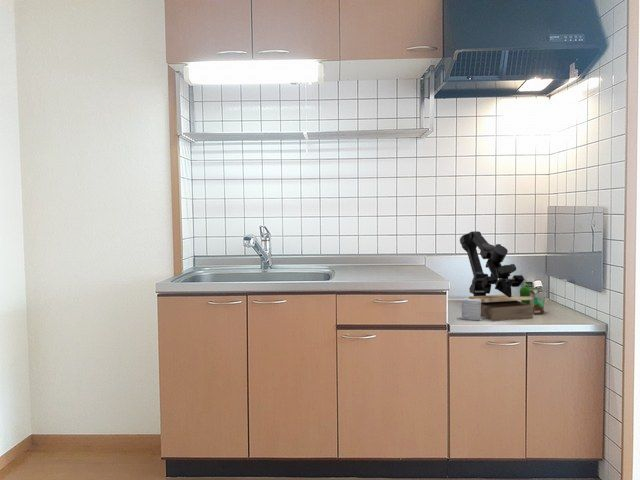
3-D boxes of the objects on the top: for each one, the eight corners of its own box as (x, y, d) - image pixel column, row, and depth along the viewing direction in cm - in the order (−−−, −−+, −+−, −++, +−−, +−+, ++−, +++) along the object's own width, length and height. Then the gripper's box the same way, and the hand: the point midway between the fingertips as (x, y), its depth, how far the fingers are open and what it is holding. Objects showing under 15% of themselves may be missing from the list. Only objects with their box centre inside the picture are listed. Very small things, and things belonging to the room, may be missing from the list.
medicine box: (480, 318, 227) (481, 299, 227) (480, 320, 223) (480, 301, 222) (462, 317, 230) (462, 298, 229) (461, 319, 226) (461, 300, 225)
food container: (548, 315, 233) (549, 293, 232) (534, 314, 234) (534, 293, 233) (542, 309, 245) (543, 288, 244) (529, 309, 246) (529, 288, 245)
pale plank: (477, 302, 234) (477, 299, 234) (516, 300, 239) (516, 297, 239) (492, 301, 223) (491, 298, 223) (532, 299, 227) (532, 296, 228)
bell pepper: (534, 302, 263) (534, 282, 262) (539, 305, 255) (539, 285, 254) (517, 301, 264) (517, 282, 263) (521, 305, 256) (522, 285, 255)
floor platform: (468, 311, 242) (468, 296, 242) (506, 308, 247) (506, 294, 246) (492, 320, 223) (492, 304, 222) (533, 318, 228) (533, 302, 227)
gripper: (485, 258, 229) (499, 286, 218) (522, 257, 233) (537, 284, 223) (475, 274, 237) (488, 302, 227) (511, 272, 241) (525, 299, 231)
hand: (510, 296), depth 227 cm, fingers closed, pressing on pale plank
